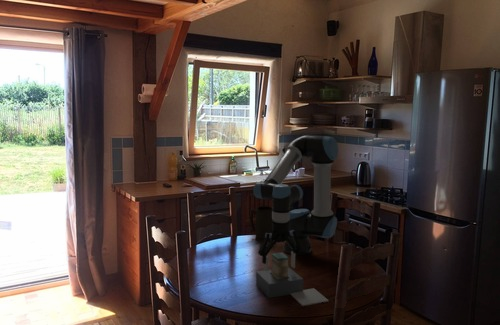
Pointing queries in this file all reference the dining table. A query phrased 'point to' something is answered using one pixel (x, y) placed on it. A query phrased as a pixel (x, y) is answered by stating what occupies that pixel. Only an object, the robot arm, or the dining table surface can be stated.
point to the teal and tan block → (279, 266)
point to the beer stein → (261, 222)
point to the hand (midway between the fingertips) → (279, 268)
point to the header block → (279, 283)
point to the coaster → (309, 297)
